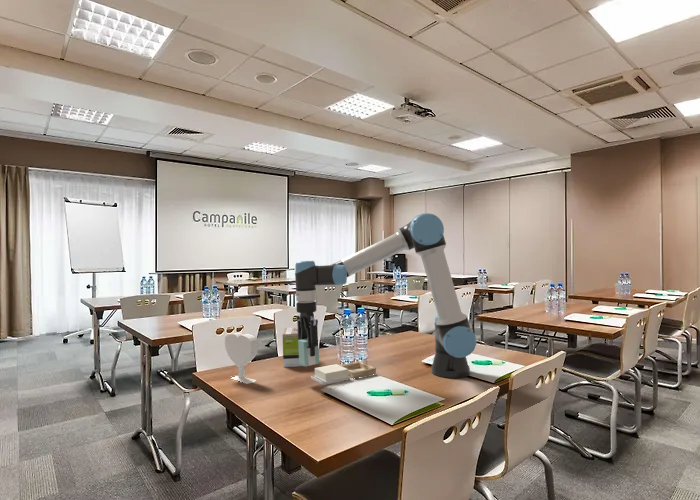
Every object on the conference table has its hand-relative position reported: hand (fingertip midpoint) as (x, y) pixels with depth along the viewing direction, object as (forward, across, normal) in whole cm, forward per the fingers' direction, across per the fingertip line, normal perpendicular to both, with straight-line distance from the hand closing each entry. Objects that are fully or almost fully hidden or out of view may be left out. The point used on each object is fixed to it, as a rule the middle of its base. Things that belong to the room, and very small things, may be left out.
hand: (308, 362), depth 152 cm
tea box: (+8, -31, +8) cm, 33 cm away
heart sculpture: (+8, -20, -20) cm, 29 cm away
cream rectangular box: (+8, 0, +9) cm, 12 cm away
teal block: (0, 0, 0) cm, 0 cm away
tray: (+8, 0, +22) cm, 23 cm away
